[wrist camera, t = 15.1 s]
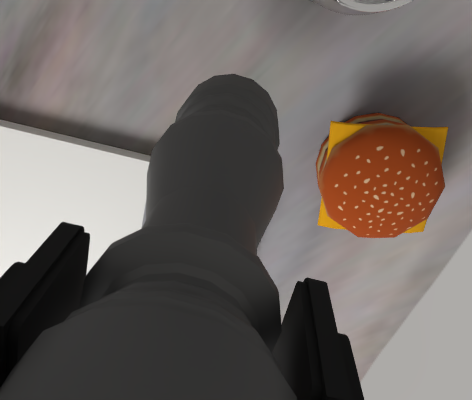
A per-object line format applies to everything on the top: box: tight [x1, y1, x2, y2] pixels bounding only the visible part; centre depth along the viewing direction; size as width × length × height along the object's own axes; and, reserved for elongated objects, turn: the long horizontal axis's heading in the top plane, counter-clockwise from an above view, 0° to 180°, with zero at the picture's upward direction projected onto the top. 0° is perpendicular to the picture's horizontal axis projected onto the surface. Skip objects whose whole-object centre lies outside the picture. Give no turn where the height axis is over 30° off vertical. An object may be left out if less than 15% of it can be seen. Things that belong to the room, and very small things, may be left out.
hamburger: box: [316, 113, 448, 238], centre depth 35 cm, size 9×10×7 cm
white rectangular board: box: [0, 119, 151, 277], centre depth 42 cm, size 20×26×2 cm
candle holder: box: [0, 74, 297, 400], centre depth 17 cm, size 6×6×25 cm
